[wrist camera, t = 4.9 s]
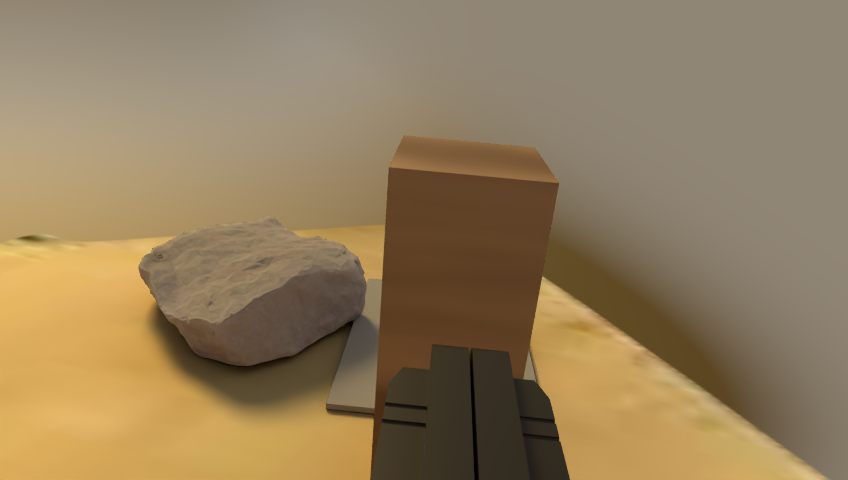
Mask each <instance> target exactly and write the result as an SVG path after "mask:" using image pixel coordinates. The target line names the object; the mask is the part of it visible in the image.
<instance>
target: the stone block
mask: <svg viewBox="0 0 848 480" xmlns="http://www.w3.org/2000/svg"><path fill="white" fill-rule="evenodd" d="M139 272H140V276H141V278H142V279H143V280H144V282H145V284H146V285H147V286H148V288H149V289H150V293H151V294H152V295H153V297H154V298H155V299H156V302H157V304H158V307H159V308H160V310H161V311H162V312H163V314H164V315H165V317H166V319H167V320H168V321H169V322H171V323H172V324H174V325H175V326H176V327H177V328H178V330H179V333H180V334H181V335H182V336H183V337H184V338H185V339H186V341H187V343H188V345H189V347H190V348H191V349H192V350H193V352H194V353H196V354H197V355H199V356H201V357H204V358H211V359H214V360H217V361H221V362H224V363H227V364H230V365H235V366H250V365H255V364H258V363H262V362H266V361H270V360H274V359H277V358H281V357H286V356H294V355H295V354H297V353H299V352H301V351H302V350H303V349H304V348H306V347H307V346H309V345H311V344H312V343H314V342H315V341H317V340H318V339H320V338H322V337H324V336H325V335H327V334H329V333H332V332H334V331H336V330H337V329H338V328H340V327H342V326H343V325H345V324H346V323H347V322H350V321H352V320H354V319H356V318H357V317H358V316H360V315H361V314H362V312H363V309H364V306H365V294H366V289H367V286H366V281H365V278H364V276H363V275H364V271H363V269H362V267H361V264H360V261H359V259H358V257H357V256H356V255H354V254H353V253H352V252H350V251H349V250H348V249H347V248H346V247H345V246H344V245H342V244H340V243H337V242H334V241H330V240H327V239H323V238H321V237H319V236H316V237H311V238H305V237H299V236H297V235H295V234H294V233H293V232H291V231H288V230H286V229H285V228H284V227H283V226H282V225H281V223H279V221H278V220H277V219H276V218H274V217H270V216H269V217H263V218H262V219H260V220H258V221H254V222H243V223H233V224H227V225H213V226H210V227H207V228H201V229H197V230H195V231H192V232H185V233H183V234H181V235H179V236H177V237H175V238H173V239H171V240H169V241H168V242H166V243H164V244H163V245H160V246H157V247H154V248H152V252H151V253H150V254H147V255H145V256H144V257H143V258H142V260H141V262H140V264H139Z"/></svg>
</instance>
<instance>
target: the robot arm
mask: <svg viewBox="0 0 848 480" xmlns="http://www.w3.org/2000/svg"><path fill="white" fill-rule="evenodd" d="M371 480H570V478H569V474H568V470H567V466H566V462H565V458H564V454H563V450H562V446H561V442H559V434H558V430H557V426H556V424H555V418H554V414H553V410H552V407H551V403H550V399H549V398H548V396H547V395H546V394H545V393H544V392H543V390H542V389H541V388H540V387H539V385H538V384H537V383H536V382H535V381H534V380H526V379H517V378H513V373H512V367H511V361H510V355H509V352H508V351H499V350H489V349H479V348H471V350H470V355H469V348H468V347H458V346H449V345H439V344H432V350H431V360H430V369H429V370H428V369H419V368H409V367H402V369H401V370H400V371H399V372H398V373H397V374H396V375H395V376H394V378H393V379H392V380H391V381H390V382H389V386H388V391H387V396H386V402H385V407H384V412H383V418H382V423H381V428H380V434H379V439H378V444H377V450H376V455H375V460H374V466H373V471H372V476H371Z"/></svg>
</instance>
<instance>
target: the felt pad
mask: <svg viewBox="0 0 848 480" xmlns="http://www.w3.org/2000/svg"><path fill="white" fill-rule="evenodd" d="M366 286H367V289H366V294H365V306H364V309H363V312H362V314H361V315H360V316H358V317H357V318H356V319H355V320H354V323H353V326H352V329H351V332H350V335H349V338H348V341H347V343H346V346H345V349H344V352H343V355H342V358H341V361H340V364H339V367H338V370H337V373H336V376H335V379H334V381H333V384H332V387H331V390H330V393H329V396H328V399H327V402H326V409H333V410H343V411H353V412H362V413H372V414H374V410H375V393H376V377H377V360H378V343H379V326H380V309H381V292H382V280H377V279H368V282H367V285H366ZM523 379H526V380H534V381H535V382H536V378H535V374H534V370H533V365H532V361H531V357H530V352H529V351H528V356H527V362H526V367H525V373H524V378H523Z"/></svg>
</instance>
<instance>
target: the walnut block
mask: <svg viewBox="0 0 848 480" xmlns="http://www.w3.org/2000/svg"><path fill="white" fill-rule="evenodd" d="M558 185H559V182H558V181H557V179H556V178H555V176H554V175H553V173H552V172H551V171H550V169H549V168H548V166H547V165H546V163H545V162H544V160H543V159H542V157H541V156H540V154H539V153H538V151H537V150H536V148H533V147H523V146H512V145H500V144H490V143H479V142H468V141H458V140H447V139H436V138H425V137H415V136H403V138H402V140H401V143H400V145H399V147H398V149H397V151H396V153H395V156H394V157H393V160H392V162H391V164H390V166H389V174H388V191H387V209H386V225H385V242H384V258H383V275H382V292H381V309H380V326H379V343H378V360H377V377H376V393H375V410H374V427H373V444H372V461H371V476H372V471H373V466H374V460H375V455H376V450H377V444H378V439H379V434H380V428H381V423H382V418H383V412H384V407H385V402H386V396H387V391H388V386H389V382H390V381H391V380H392V379H393V378H394V376H395V375H396V374H397V373H398V372H399V371H400V370H401V369H402V367H409V368H419V369H428V370H429V369H430V360H431V350H432V344H439V345H449V346H458V347H468V348H469V355H470V350H471V348H479V349H489V350H499V351H508V352H509V355H510V361H511V367H512V373H513V378H517V379H523V378H524V373H525V367H526V362H527V356H528V351H529V345H530V340H531V334H532V329H533V323H534V318H535V312H536V307H537V301H538V296H539V290H540V285H541V279H542V274H543V268H544V263H545V257H546V252H547V246H548V240H549V235H550V230H551V224H552V219H553V213H554V208H555V202H556V197H557V191H558ZM370 480H371V478H370Z"/></svg>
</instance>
